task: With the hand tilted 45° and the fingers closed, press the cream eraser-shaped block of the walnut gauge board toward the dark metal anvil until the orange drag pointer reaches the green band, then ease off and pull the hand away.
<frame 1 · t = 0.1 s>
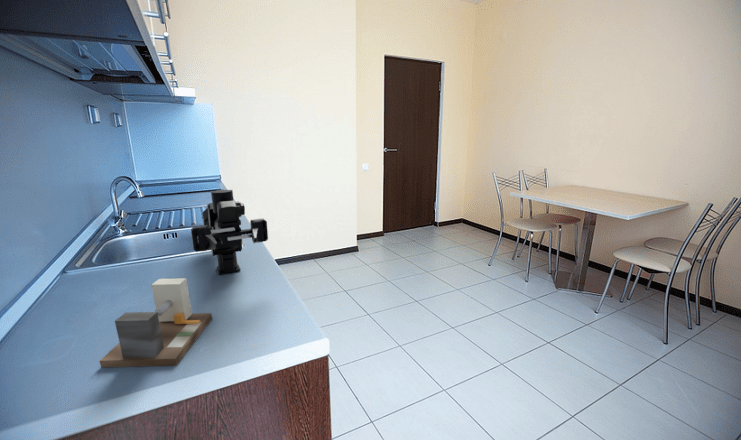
hand: (236, 243, 84), 16 cm above the worktop, fingers open, 9 cm apart
cream eraser-shaped block: (167, 304, 74), point 6 cm above the worktop, slide at 0.0 cm
drag pointer: (187, 318, 75), point 3 cm above the worktop, slide at 0.0 cm
gauge board: (161, 342, 72), on the worktop
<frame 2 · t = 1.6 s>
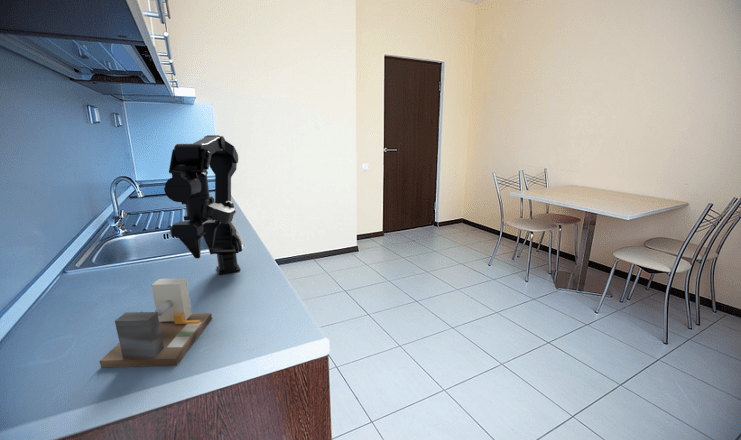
hand: (204, 252, 89), 12 cm above the worktop, fingers open, 8 cm apart
nothing on the worktop moved.
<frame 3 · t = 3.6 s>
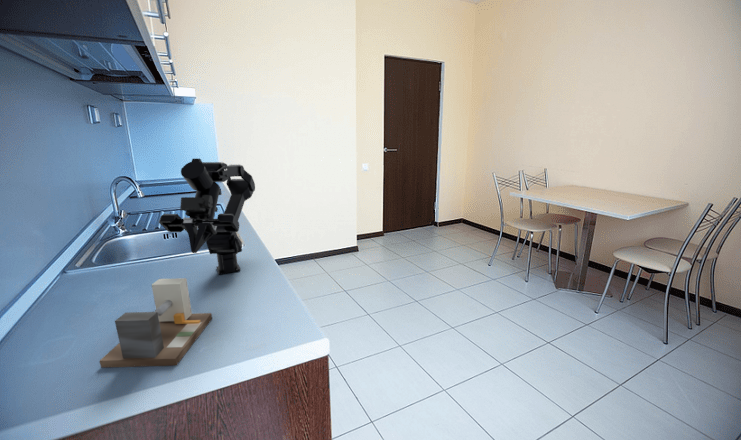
hand: (193, 252, 86), 13 cm above the worktop, fingers closed
nothing on the worktop moved.
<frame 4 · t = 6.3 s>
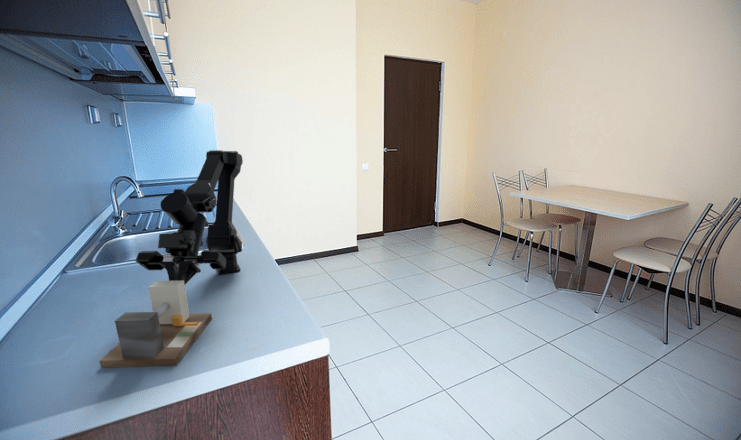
hand: (173, 295, 77), 7 cm above the worktop, fingers closed, pressing on cream eraser-shaped block
cream eraser-shaped block: (164, 306, 73), point 6 cm above the worktop, slide at 1.1 cm, touching drag pointer, gripper
drag pointer: (185, 320, 74), point 3 cm above the worktop, slide at 0.8 cm, touching cream eraser-shaped block
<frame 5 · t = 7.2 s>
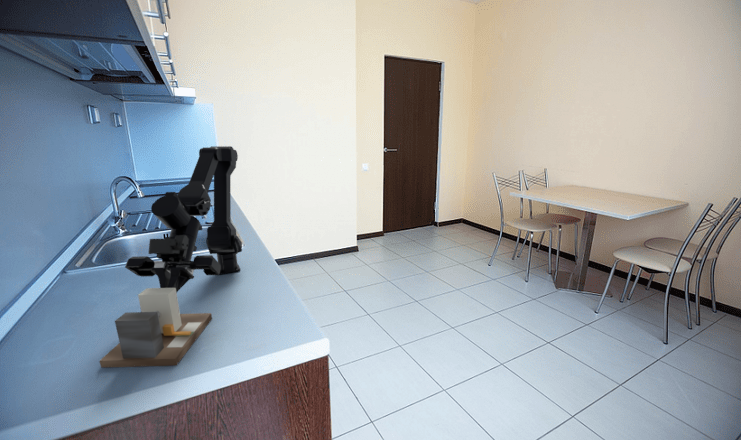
hand: (164, 302, 73), 7 cm above the worktop, fingers closed, pressing on cream eraser-shaped block
cream eraser-shaped block: (155, 315, 70), point 6 cm above the worktop, slide at 4.7 cm, touching drag pointer, gripper
drag pointer: (177, 329, 71), point 3 cm above the worktop, slide at 4.4 cm, touching cream eraser-shaped block
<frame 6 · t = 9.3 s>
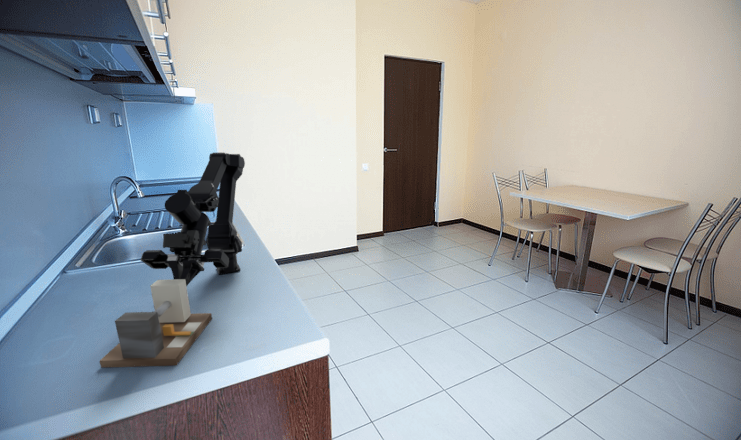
hand: (178, 293, 79), 7 cm above the worktop, fingers closed
cream eraser-shaped block: (166, 305, 74), point 6 cm above the worktop, slide at 0.5 cm
drag pointer: (177, 329, 71), point 3 cm above the worktop, slide at 4.4 cm
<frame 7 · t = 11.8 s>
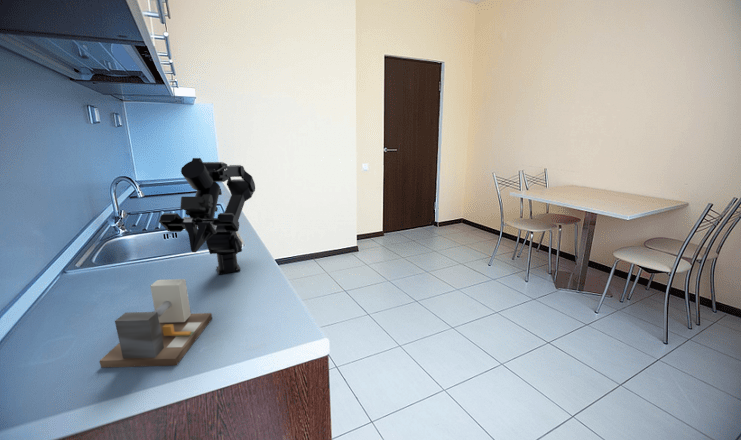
hand: (193, 251, 86), 14 cm above the worktop, fingers closed
nothing on the worktop moved.
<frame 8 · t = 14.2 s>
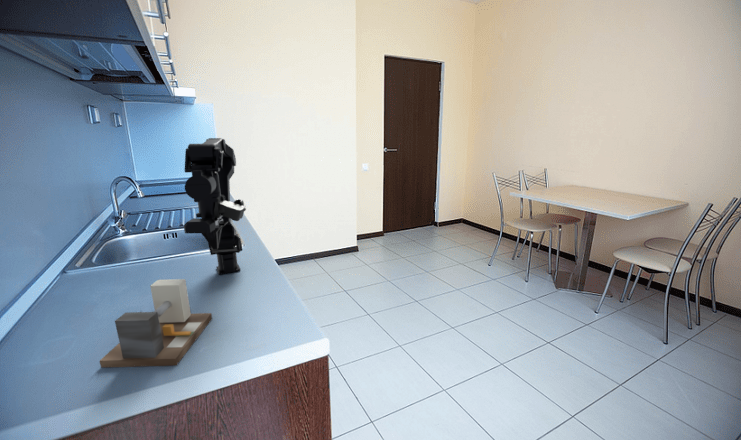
hand: (215, 248, 93), 12 cm above the worktop, fingers closed
nothing on the worktop moved.
at the end: drag pointer slide at 4.4 cm; cream eraser-shaped block slide at 0.5 cm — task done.
